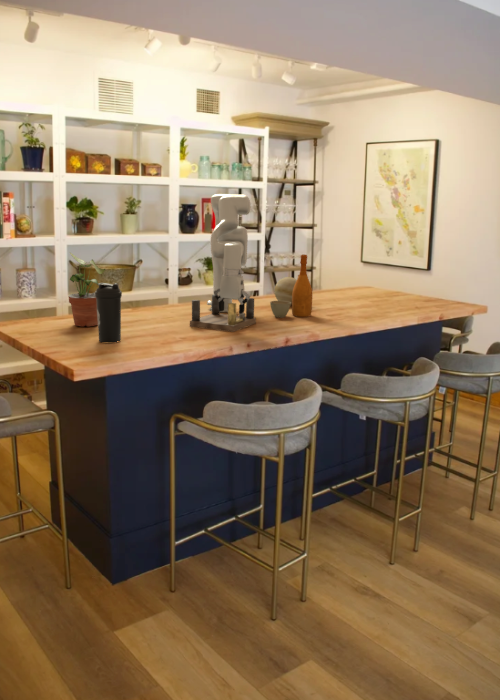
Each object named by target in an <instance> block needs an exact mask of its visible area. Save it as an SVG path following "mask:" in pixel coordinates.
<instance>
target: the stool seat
mask: <svg viewBox="0 0 500 700" xmlns="http://www.w3.org/2000/svg"><path fill="white" fill-rule="evenodd" d="M219 296H220V295H219ZM211 301H212V311H211V313H210V314H207V315H204V316H201V300H199V299H192V300H191V319H190V320H189V327H194V328H200V329H207V330H208V329H210V330H216V331H225V332H231V333H232V332H237V331H239V330H241V329H244V328H247V327H249V326H252V325H254V324H255V325H256V321H257V318H256V317H255V298H252V297H250V298H249V299H248V301H247V302H246V303H245V304H246V305H245V306H246V307H245V309H246V310H245V320H244V321H241V322H238V323H236V324H235V325H229V324H228V314H224V313H221V312H220V311H219V302H218V300H217V299H216V297H215V295H213V294H211ZM238 318H239V315H236V319H238Z"/></svg>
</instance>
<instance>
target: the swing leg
mask: <svg viewBox="0 0 500 700" xmlns="http://www.w3.org/2000/svg"><path fill="white" fill-rule="evenodd" d="M227 315H228V324H229V325H235V324H236V323H238V322H241V321H244V320H245V317H246V312H245V313H242V314H239V313H238V316H239V318H238V319H236V316H237V303H236V302H232V303H228V312H227Z"/></svg>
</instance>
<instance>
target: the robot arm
mask: <svg viewBox="0 0 500 700" xmlns="http://www.w3.org/2000/svg"><path fill="white" fill-rule="evenodd" d="M210 205H211V209H212V211H213V213H214V219H215V220H214V221H215V223H214V224H215V227H214V229H213V230H212V232H211V234H210V235H211V236H210V252H211V260H212V261H211V262H212V271H213V273H212V277H213V278H212V279H213V282H212V289H213V291H212V292H213V294H212V295H215V297H216V299H217V300H218V302H219V311H220V313H228V303H233V300H235V301H238V302H239V306H238V315H239V314H242V313H244V312H245V309H246V307H245V306H246V305H245V304H246V302H247V301H248V299H249V298H251V294H250V293H248V292H247V291H246V290H245V282H244V277H243V274H244V273H245V272H244V270H242V268H243V267H245V265H246V264H247V259H248V237H249V236H248V231H247V228H246V227H244V226H241V225H240V226H239V223H240V222H239V215H240V216H241V215H243V216H245V215H246V216H247V215H249V214H250V213H251V206H252V203H251V199H250V198H249V196H248V195H246V194H237V193H236V194H233V193H217V194H213V195H212V196H211V197H210ZM219 295H220V296H219ZM206 305H208V306H210V307H209V310H210V311H211V312H212V300H207V302H206Z"/></svg>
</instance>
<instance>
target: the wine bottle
mask: <svg viewBox="0 0 500 700" xmlns="http://www.w3.org/2000/svg"><path fill="white" fill-rule="evenodd" d="M299 264H300V270H299V274H298V275H297V279H296V280H297V281H296V283H295V286H294V288H293V293H292V305H291V314H292V316H294V317H298V318H309V317H310V316H311V315H312V312H313V311H312V310H313V288H312V285H311V282H310V280H309V277H308V272H307V264H308V254H305V253H304V254H300V261H299Z"/></svg>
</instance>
